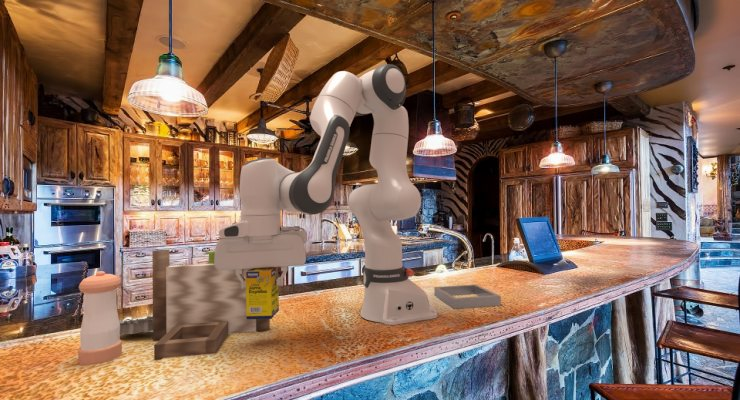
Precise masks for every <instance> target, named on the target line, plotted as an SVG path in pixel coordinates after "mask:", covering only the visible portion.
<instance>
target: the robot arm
mask: <svg viewBox="0 0 740 400" xmlns="http://www.w3.org/2000/svg"><path fill="white" fill-rule="evenodd" d="M406 83H407V81H406V77H405V75H404V73H403V71H402V70H401V69H400V68H399V67H398V66H396V65H394V64H393V63H391V64H390V63H389V64H383V65H380V66H377V67H376V68H375V69H371V70H369V71H368V72H366V73H364V74H363V75H361V76H360V77H357V76H356V75H355V74H354V73H351V72H349V71H345V70H342V71H341V70H340V71H337V72H335V73H334V74H333V75H332V76H331V77H330V78H329V80H328V81H327V82H326V84H324V86H323V88H322V89H321V91H320V93H319V94H318V95H317V98H316V99H315V102H314V104H313V107H312V109H311V112H310V116H309V117H310V118H309V122H310V125H311V127H312V129H313V130H314V132H316V134H318V136H320V140H319V141H318V145H317V147H316V150H315V152H314V155H313V158H312V160H311V162H310V163H309V165H308V166H307V167H305V169H304V170H301V171H299V172H296V171H293V170H291V169H289V168H287V167H286V166H283V165H282V164H280V163H279V162H278V161H277V160H276V159H275V158H273V157H262V158H256V159H251V160H248V161H246V162H245V163H243V164H242V167H241V171H240V175H239V176H240V177H239V198H240V201H241V209H240V210H241V211H240V220H239V222H233V223H231V224H230V225H227V226H223V227H221V228H220V229H219V231H218V235H219V237H220V239H219V240H217V242H216V245H215V248H214V251H215V256H214V266H215V268H216V269H217V270H219V271H220V270H236V276H237V277H238V279H239V280H240V281H241V289H245V288H246V279H245V278H244V276H243V275H242V273H243V272H244V269H252V268H268V267H278V268H280V270H281V272H282V273H281V275H280V276H278V277H277V278H276V282H277V283H276V286H278V287H283V286H284V278H285V276H286V274H287V272H288V267H296V266H297V267H298V266H300V267H301V266H303V265H304V264H305V263H306V262H307V258H306V257H307V256H306V255H307V254H306V249H305V244H306V243H307V240H308V238H307V236H308V234H307V231H306V230H305V228H303V227H301V226H300V225H294V226H288V225H287V226H282V225H281V210H283V211H285V212H291V213H303V214H308V215H319V214H320V213H323V212H325V211H326V210H327V209H328V208H329V207H330V206H331V204H332V202H333V200H334V197H335V190H336V188H335V187H336V177H337V173H338V170H339V168H340V164H341V161H342V158H343V156H344V152H345V149H346V146H347V144H348V141H349V137H350V132H351V131H350V127H351V124H352V122H353V120H354V118H355V116H367V115H369V114H372V118H373V128H372V129H373V130H372V135H371V144H370V150H369V160H368V161H369V163H370V165H371V167H373V168H374V170H376V173H377V183H369V184H363V185H361V186H360V187H357V188H355V189H353V190H351V192H350V194H349V197H348V207H349V208H348V209H349V211H350V212H351V213H352V215H353V216H354V217H355V218H356V220H357V222H358V224H359V226H360V229H361V233H362V236H363V241H364V242H363V243H364V264H365V266H364V267H363V286H364V293H363V302H362V307H361V311H360V317H361V318H363V319H365V320H368V321H370V322H371V321H372V322H377V323H381V324H385V325H388V326H389V325H390V326H393V325H395V326H396V325H401V324H407V323H415V322H420V321H425V320H431V319H436V318H438V312H437V310H436V309H435V308H434V307H433V306H432V305H430V302H429V297H428V295H427V293H426V291H425V290H424V289H423V288H422V287H420V286H419V285H418V284H416V283H415V282H414V281H412V280H411V279H409V277H410V278H411V277H413V276H414V274H415V272H414V270H413V269H411V268H407V267H406V266H404V265H403V242H402V239H401V238H400V236H399V235H397V233H395V231H394V229H393V227H392V225H391V221H403V220H408V219H411V218H414V217H416V215H417V214H418V213H419V211H420V209H421V206H422V198H421V194H420V191H419V189H418V188H417V187H416V186H415V185H414V184H413V182H412V181H411V180H410V177H409V173H408V170H407V169H408V167H407V155H408V153H407V152H408V143H409V129H410V128H409V116H408V115H409V114H408V110H407V109H406V107H404V106H403V105H404V103H405V100H406V93H407V85H406Z"/></svg>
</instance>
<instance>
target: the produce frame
mask: <svg viewBox="0 0 740 400" xmlns="http://www.w3.org/2000/svg"><path fill="white" fill-rule="evenodd" d="M433 289H434V291H433V292H434V293H433V294H434V297H436V298H437V299H439V300H440V301H441V302H443V303H445V304H446V305H447V306H449V307H450V308H452V309H453V310H457V309H460V310H461V309H472V308H483V307H485V308H486V307H497V306H498V307H499V306H502V299H501V298H502V297H501V295H500V294H498V293H495V292H493V291H491V290H488V289H487V288H484V287H482V286H480V285H479V284H464V285H463V284H462V285H461V284H460V285H459V284H458V285H443V286H435V287H434V288H433ZM460 295H477V296H468V297H467V296H465V297H455V296H460Z"/></svg>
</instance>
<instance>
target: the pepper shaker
mask: <svg viewBox="0 0 740 400" xmlns="http://www.w3.org/2000/svg"><path fill="white" fill-rule="evenodd" d="M121 283H122V281H121V278H120V276H118V275H115V274H112V273H106V271H103V270H99V271H97V272H96V273H95V274H94V275H90V276H88V277H85V278H83V279H82V280H81V282H80V283H79V285H78V290H79V291H80V292H81V293H83V316H82V320H81V321H82V322H81V325H80V330H79V336H80V338H79V339H80V347H79V349H78V350H77V362H78V363H77V364H79V365H82V366H93V365H94V366H95V365H99V364H103V363H107V362H111V361H113V360H115V359H118V358H119V357H121V356H122V354H123V351H122V350H123V347H122V346H123V343H122V342H123V341H122V339H120V336H121V335H120V323H119V321H120V319H119V313H118V308H117V306H118V305H117V289H118V288H120V285H121Z"/></svg>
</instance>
